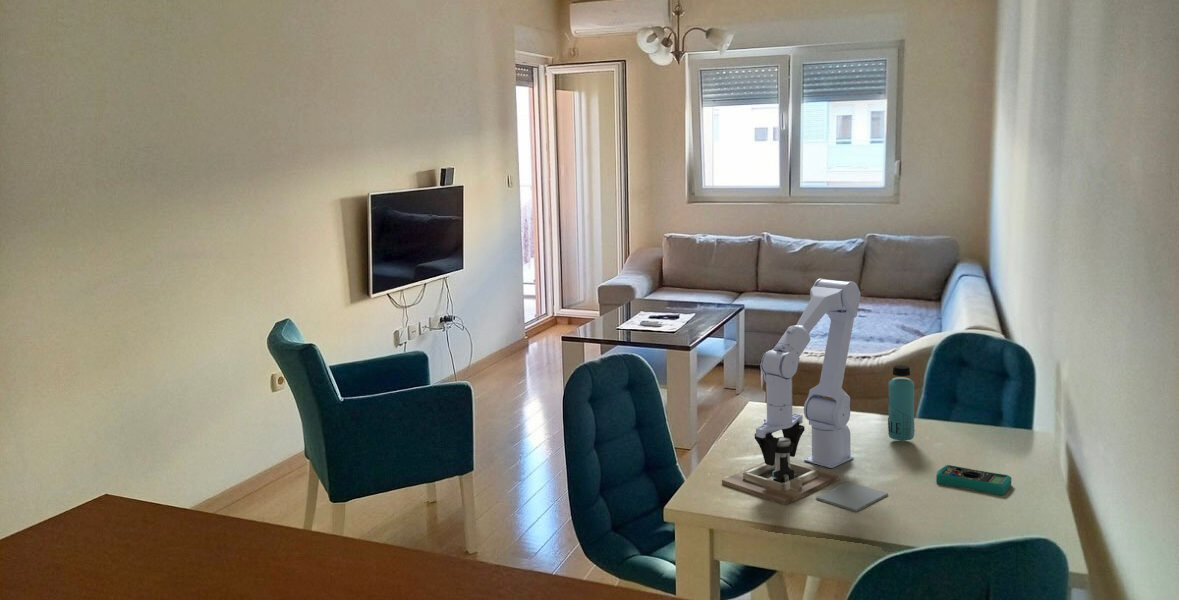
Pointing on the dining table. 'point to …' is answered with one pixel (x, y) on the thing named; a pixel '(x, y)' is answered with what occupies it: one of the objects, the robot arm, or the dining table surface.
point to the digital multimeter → (974, 479)
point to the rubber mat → (852, 496)
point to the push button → (783, 461)
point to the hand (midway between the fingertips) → (780, 460)
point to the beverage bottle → (901, 405)
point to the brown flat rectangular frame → (777, 491)
